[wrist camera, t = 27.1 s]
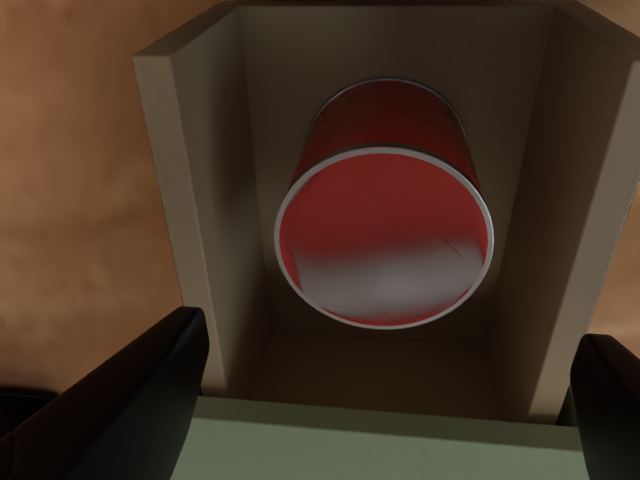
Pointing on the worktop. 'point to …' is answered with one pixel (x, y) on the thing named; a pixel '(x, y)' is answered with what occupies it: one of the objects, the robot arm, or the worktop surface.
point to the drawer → (490, 166)
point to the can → (384, 208)
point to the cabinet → (372, 444)
